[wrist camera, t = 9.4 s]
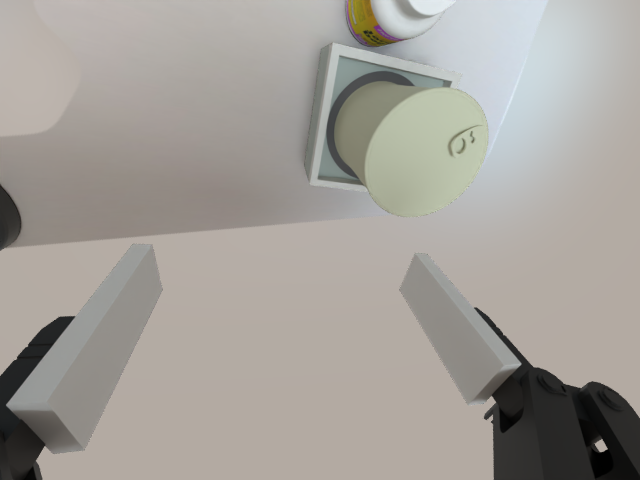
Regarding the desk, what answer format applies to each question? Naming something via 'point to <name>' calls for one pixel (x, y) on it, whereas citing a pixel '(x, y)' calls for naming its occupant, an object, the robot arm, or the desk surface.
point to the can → (412, 144)
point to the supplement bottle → (392, 19)
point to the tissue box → (333, 90)
